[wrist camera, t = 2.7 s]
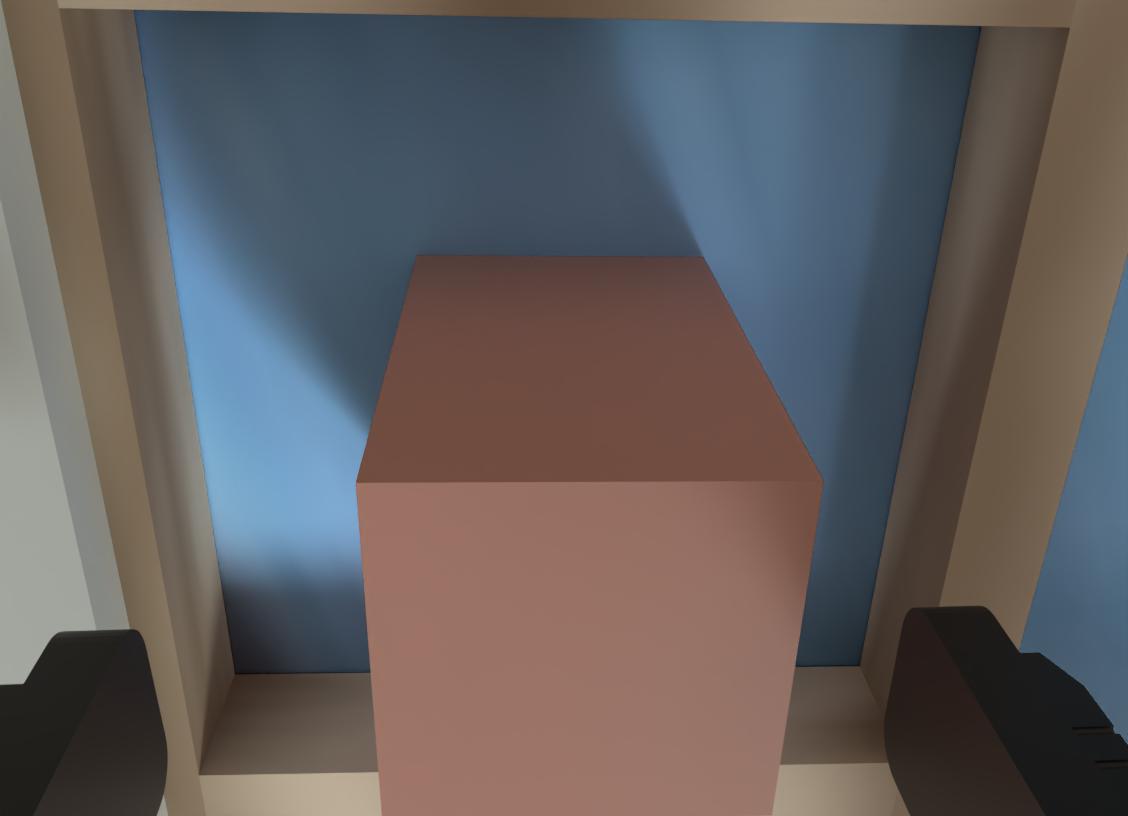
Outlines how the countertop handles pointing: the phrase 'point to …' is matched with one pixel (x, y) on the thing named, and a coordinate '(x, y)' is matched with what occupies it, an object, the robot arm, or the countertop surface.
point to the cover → (42, 431)
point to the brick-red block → (580, 544)
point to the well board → (931, 438)
